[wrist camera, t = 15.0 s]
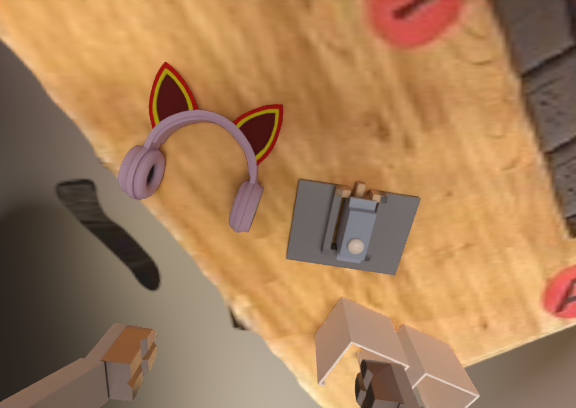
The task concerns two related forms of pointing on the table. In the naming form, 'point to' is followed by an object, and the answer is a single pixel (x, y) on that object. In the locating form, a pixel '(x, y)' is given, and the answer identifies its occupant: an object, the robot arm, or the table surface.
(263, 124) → the headphones
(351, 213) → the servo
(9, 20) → the table surface
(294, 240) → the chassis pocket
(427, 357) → the double compartment bin
